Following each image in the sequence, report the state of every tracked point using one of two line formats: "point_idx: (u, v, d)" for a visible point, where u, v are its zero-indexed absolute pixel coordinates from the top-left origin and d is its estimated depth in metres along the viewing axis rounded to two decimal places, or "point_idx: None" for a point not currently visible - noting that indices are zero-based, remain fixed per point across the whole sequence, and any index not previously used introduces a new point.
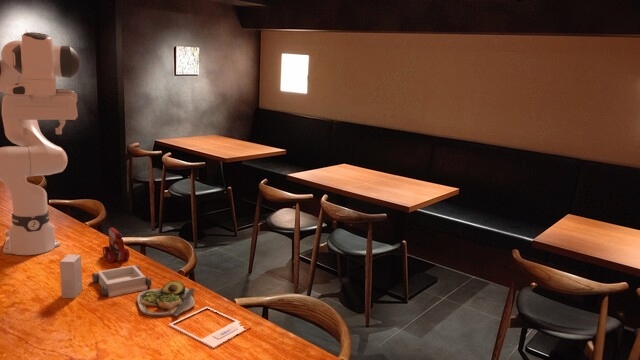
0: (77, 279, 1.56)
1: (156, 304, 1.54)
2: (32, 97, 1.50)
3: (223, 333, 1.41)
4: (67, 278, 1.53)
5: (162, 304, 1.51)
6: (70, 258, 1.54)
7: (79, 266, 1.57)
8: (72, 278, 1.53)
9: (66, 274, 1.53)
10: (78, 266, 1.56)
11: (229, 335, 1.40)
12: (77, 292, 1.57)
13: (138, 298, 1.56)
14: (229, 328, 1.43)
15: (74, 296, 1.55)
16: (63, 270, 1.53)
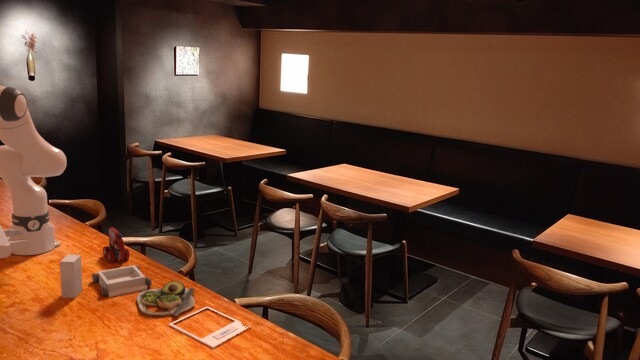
0: (77, 279, 1.56)
1: (156, 304, 1.54)
2: None
3: (223, 333, 1.41)
4: (67, 278, 1.53)
5: (162, 304, 1.51)
6: (70, 258, 1.54)
7: (79, 266, 1.57)
8: (72, 278, 1.53)
9: (66, 274, 1.53)
10: (78, 266, 1.56)
11: (229, 335, 1.40)
12: (77, 292, 1.57)
13: (138, 298, 1.56)
14: (229, 328, 1.43)
15: (74, 296, 1.55)
16: (63, 270, 1.53)
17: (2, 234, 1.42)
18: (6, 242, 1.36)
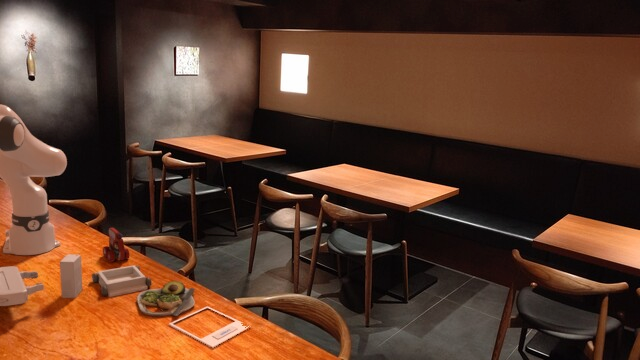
0: (77, 279, 1.56)
1: (156, 304, 1.54)
2: None
3: (223, 333, 1.41)
4: (67, 278, 1.53)
5: (162, 304, 1.51)
6: (70, 258, 1.54)
7: (79, 266, 1.57)
8: (72, 278, 1.53)
9: (66, 274, 1.53)
10: (78, 266, 1.56)
11: (229, 335, 1.40)
12: (77, 292, 1.57)
13: (138, 298, 1.56)
14: (229, 328, 1.43)
15: (74, 296, 1.55)
16: (63, 270, 1.53)
17: (19, 278, 1.47)
18: (23, 288, 1.41)
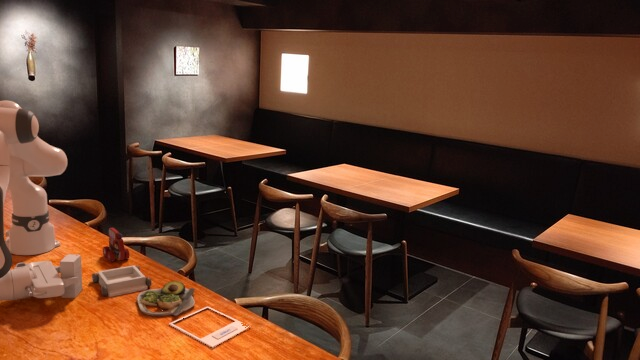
0: None
1: (156, 304, 1.54)
2: None
3: (222, 333, 1.41)
4: (67, 278, 1.53)
5: (162, 304, 1.51)
6: (70, 258, 1.54)
7: (79, 266, 1.57)
8: None
9: (66, 274, 1.53)
10: (78, 266, 1.56)
11: (228, 335, 1.40)
12: (77, 292, 1.57)
13: (138, 298, 1.56)
14: (229, 328, 1.43)
15: (74, 296, 1.55)
16: (63, 270, 1.53)
17: (55, 272, 1.53)
18: (60, 281, 1.47)
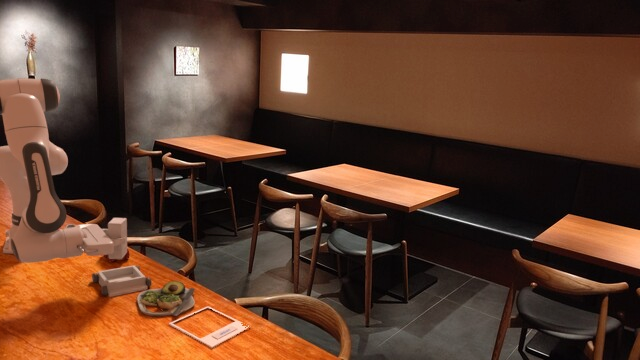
0: None
1: (156, 304, 1.54)
2: None
3: (222, 333, 1.41)
4: None
5: (162, 304, 1.51)
6: (117, 221, 1.60)
7: (125, 229, 1.63)
8: None
9: (113, 236, 1.59)
10: (124, 229, 1.62)
11: (228, 335, 1.40)
12: (123, 254, 1.63)
13: (138, 298, 1.56)
14: (228, 328, 1.43)
15: (121, 257, 1.61)
16: (111, 232, 1.59)
17: (103, 233, 1.59)
18: (110, 240, 1.53)
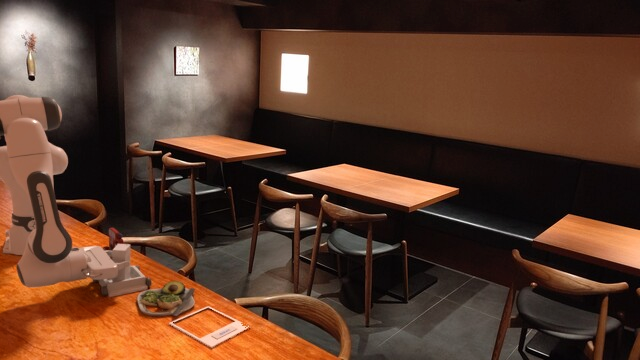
0: (127, 267, 1.65)
1: (156, 304, 1.54)
2: None
3: (222, 333, 1.41)
4: None
5: (162, 304, 1.51)
6: (121, 247, 1.63)
7: (129, 255, 1.66)
8: None
9: (117, 262, 1.62)
10: (128, 255, 1.65)
11: (228, 335, 1.40)
12: None
13: (138, 298, 1.56)
14: (228, 328, 1.43)
15: None
16: (115, 258, 1.62)
17: (107, 256, 1.61)
18: (114, 264, 1.56)
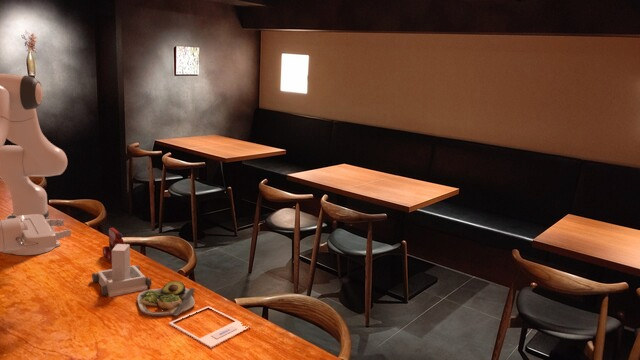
0: (127, 267, 1.65)
1: (156, 304, 1.54)
2: None
3: (222, 333, 1.41)
4: (118, 266, 1.62)
5: (162, 304, 1.51)
6: (120, 248, 1.63)
7: (128, 255, 1.66)
8: (123, 266, 1.62)
9: (117, 262, 1.62)
10: (127, 255, 1.65)
11: (228, 335, 1.40)
12: None
13: (138, 298, 1.56)
14: (228, 328, 1.43)
15: None
16: (115, 258, 1.61)
17: (46, 224, 1.48)
18: (52, 233, 1.43)
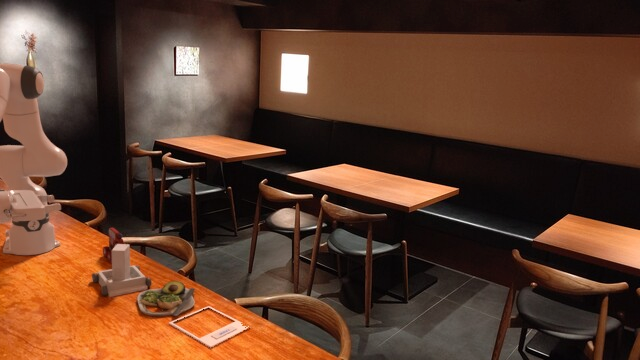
0: (127, 267, 1.65)
1: (156, 304, 1.54)
2: None
3: (221, 333, 1.41)
4: (118, 266, 1.62)
5: (162, 304, 1.51)
6: (120, 248, 1.63)
7: (128, 255, 1.66)
8: (123, 266, 1.62)
9: (117, 262, 1.62)
10: (127, 255, 1.65)
11: (227, 335, 1.40)
12: None
13: (138, 298, 1.56)
14: (228, 328, 1.43)
15: None
16: (115, 258, 1.61)
17: (36, 198, 1.45)
18: (41, 205, 1.39)
